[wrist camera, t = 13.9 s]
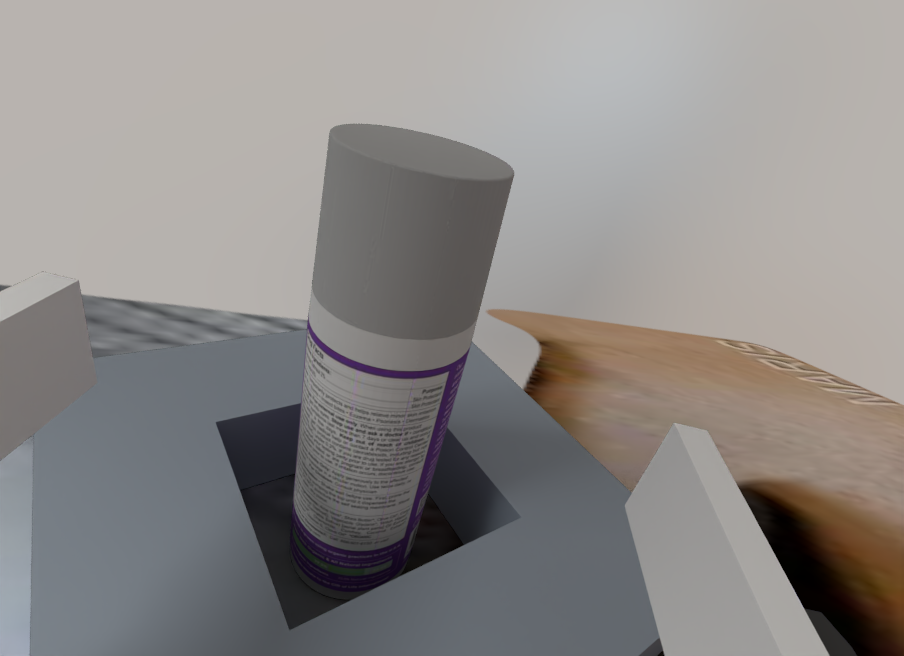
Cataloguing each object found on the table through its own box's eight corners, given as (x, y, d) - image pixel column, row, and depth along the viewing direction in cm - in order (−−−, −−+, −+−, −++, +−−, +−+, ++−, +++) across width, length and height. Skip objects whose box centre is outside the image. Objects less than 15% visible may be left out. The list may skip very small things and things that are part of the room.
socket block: (55, 444, 20) (34, 365, 18) (426, 366, 30) (440, 311, 28) (74, 1187, 8) (20, 1198, 6) (671, 642, 18) (724, 580, 16)
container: (352, 474, 22) (411, 123, 14) (434, 540, 20) (551, 174, 12) (261, 541, 18) (278, 119, 11) (351, 629, 16) (445, 189, 9)
